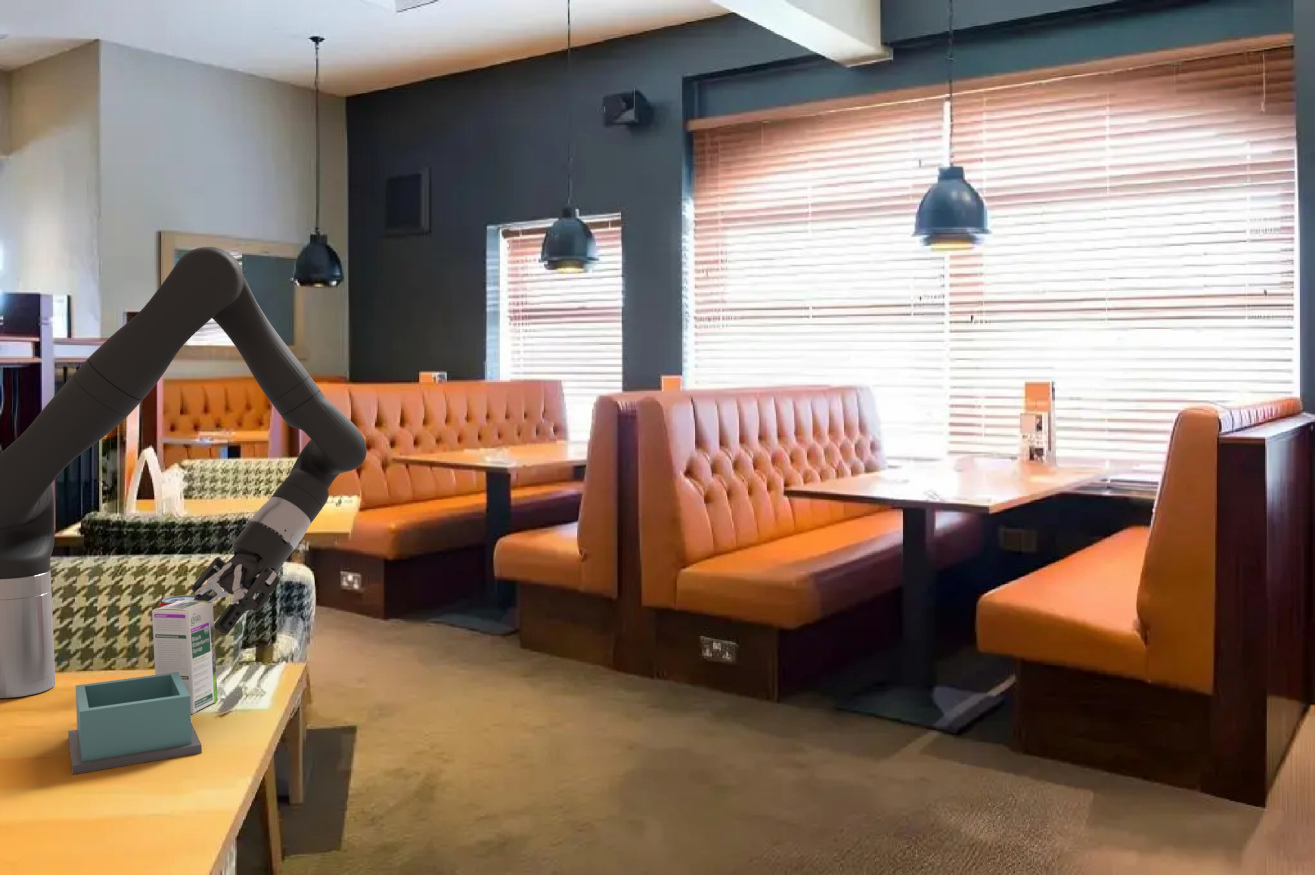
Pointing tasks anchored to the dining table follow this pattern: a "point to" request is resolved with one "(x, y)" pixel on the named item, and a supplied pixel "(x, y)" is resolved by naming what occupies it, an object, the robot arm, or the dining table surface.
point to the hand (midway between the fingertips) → (202, 626)
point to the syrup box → (187, 648)
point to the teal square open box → (131, 722)
